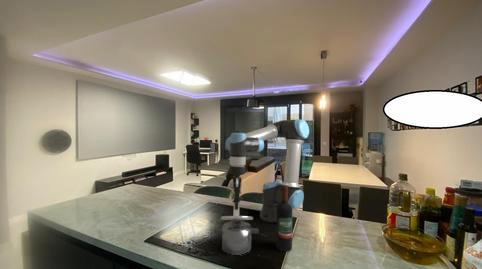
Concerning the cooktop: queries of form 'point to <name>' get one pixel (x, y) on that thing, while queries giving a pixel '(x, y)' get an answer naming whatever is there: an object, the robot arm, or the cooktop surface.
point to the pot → (236, 237)
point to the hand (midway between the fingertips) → (236, 215)
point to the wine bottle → (284, 223)
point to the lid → (237, 217)
